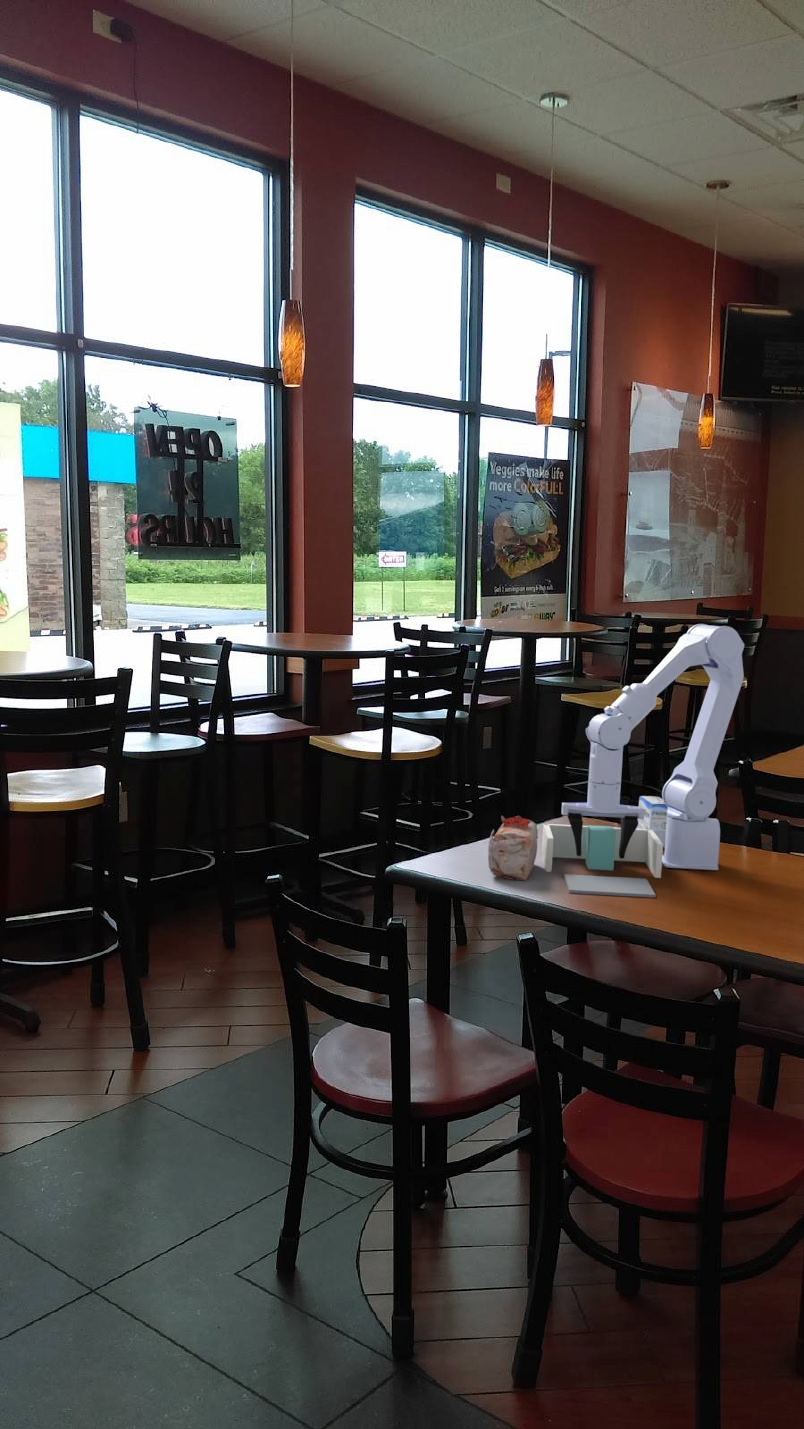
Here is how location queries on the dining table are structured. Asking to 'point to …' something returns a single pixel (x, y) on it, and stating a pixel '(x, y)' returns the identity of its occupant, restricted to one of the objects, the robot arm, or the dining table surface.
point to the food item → (513, 848)
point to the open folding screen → (639, 847)
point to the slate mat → (609, 885)
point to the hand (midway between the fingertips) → (599, 855)
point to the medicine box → (654, 816)
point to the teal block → (600, 847)
